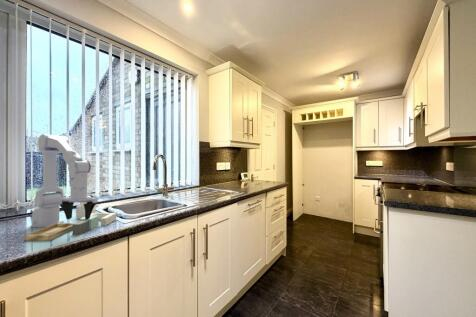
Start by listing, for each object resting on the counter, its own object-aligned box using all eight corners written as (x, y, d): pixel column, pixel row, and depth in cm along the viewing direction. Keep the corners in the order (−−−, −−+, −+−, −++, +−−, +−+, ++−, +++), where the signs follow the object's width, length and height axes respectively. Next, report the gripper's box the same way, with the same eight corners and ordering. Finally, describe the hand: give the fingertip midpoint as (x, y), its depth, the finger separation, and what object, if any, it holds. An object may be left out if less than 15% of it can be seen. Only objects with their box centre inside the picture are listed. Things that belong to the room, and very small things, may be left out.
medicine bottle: (80, 215, 116) (81, 194, 116) (95, 214, 119) (96, 194, 119) (75, 219, 110) (76, 197, 110) (91, 218, 112) (92, 196, 112)
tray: (23, 240, 81) (24, 235, 81) (56, 227, 97) (56, 222, 97) (51, 240, 82) (51, 235, 82) (78, 227, 98) (78, 222, 98)
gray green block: (70, 234, 88) (70, 223, 88) (87, 225, 100) (88, 215, 100) (82, 234, 89) (82, 223, 89) (98, 225, 101) (98, 215, 101)
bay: (80, 225, 100) (80, 218, 100) (92, 219, 110) (93, 213, 110) (106, 225, 101) (106, 218, 101) (116, 219, 111) (116, 212, 111)
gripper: (54, 189, 85) (53, 221, 85) (90, 189, 86) (90, 221, 86) (66, 186, 92) (65, 216, 92) (100, 187, 93) (99, 216, 93)
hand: (78, 218), depth 90 cm, fingers open, 7 cm apart
